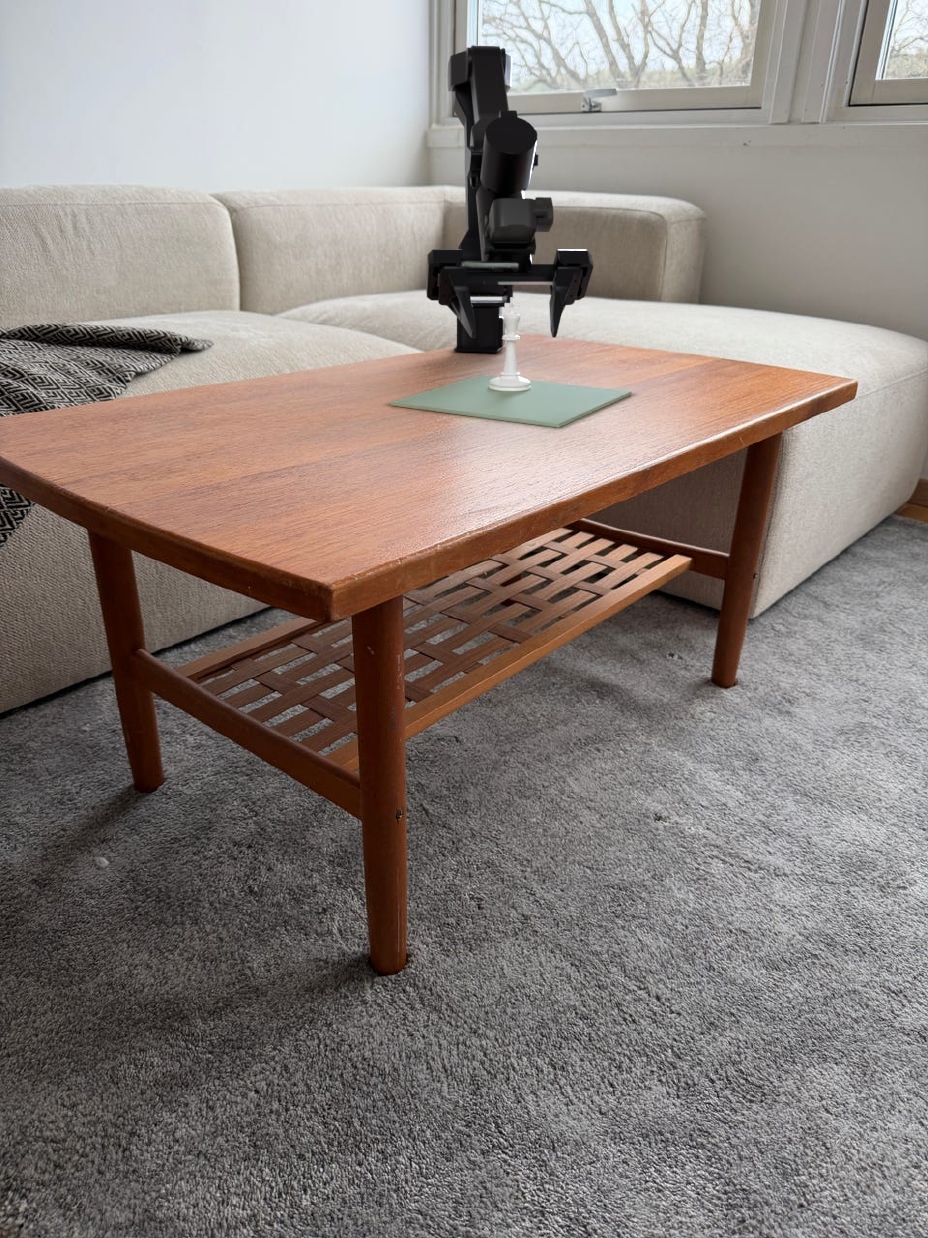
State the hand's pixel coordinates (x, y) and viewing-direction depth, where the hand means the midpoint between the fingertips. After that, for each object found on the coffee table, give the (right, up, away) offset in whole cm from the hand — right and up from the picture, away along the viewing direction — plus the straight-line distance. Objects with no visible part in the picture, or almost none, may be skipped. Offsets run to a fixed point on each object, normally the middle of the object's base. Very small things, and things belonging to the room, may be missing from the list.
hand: (514, 335), depth 102 cm
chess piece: (0, -5, +5) cm, 7 cm away
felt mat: (0, -7, 0) cm, 7 cm away
